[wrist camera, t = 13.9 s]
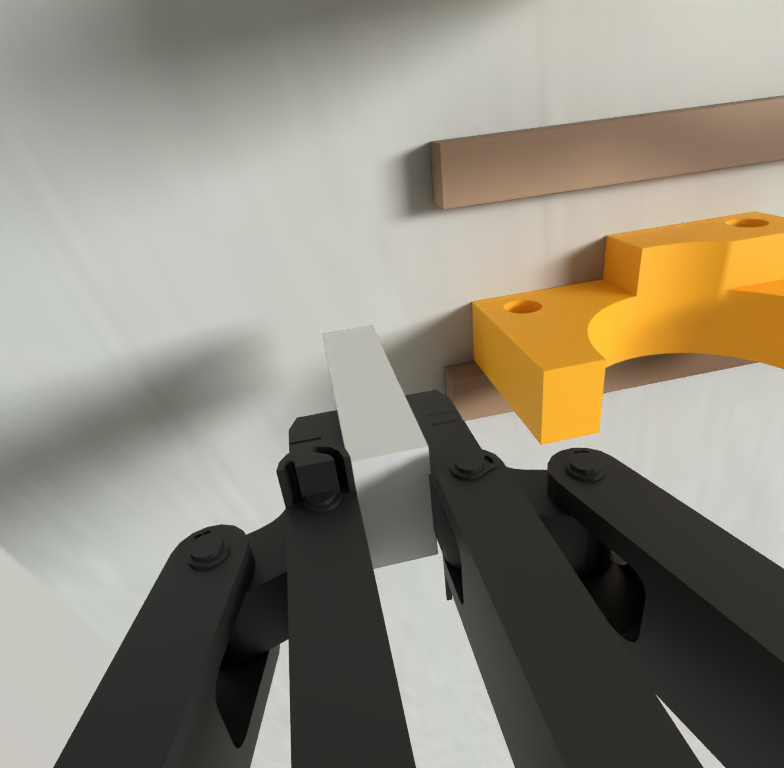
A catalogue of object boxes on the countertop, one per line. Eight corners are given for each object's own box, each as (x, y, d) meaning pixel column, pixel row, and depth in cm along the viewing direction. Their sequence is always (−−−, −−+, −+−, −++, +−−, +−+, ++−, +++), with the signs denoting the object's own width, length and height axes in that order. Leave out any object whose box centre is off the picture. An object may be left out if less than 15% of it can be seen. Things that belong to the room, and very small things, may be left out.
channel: (430, 141, 17) (440, 143, 16) (1024, 64, 20) (1065, 61, 19) (446, 408, 22) (455, 422, 21) (921, 315, 25) (948, 324, 24)
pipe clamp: (751, 210, 21) (923, 246, 16) (729, 310, 23) (874, 374, 18) (469, 256, 20) (545, 313, 14) (472, 358, 22) (540, 444, 16)
